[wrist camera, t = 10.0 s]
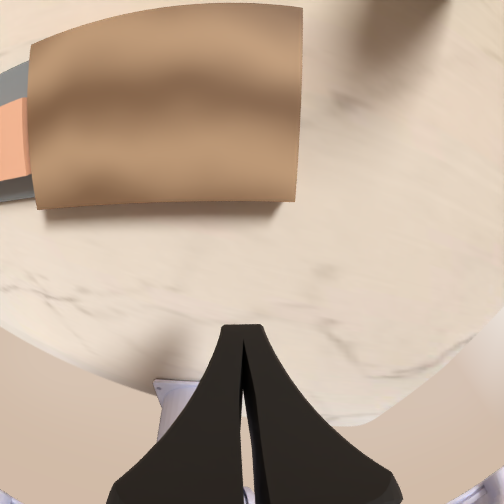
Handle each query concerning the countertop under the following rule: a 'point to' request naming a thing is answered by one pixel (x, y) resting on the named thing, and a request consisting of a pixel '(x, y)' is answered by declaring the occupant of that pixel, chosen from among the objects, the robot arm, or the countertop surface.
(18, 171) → the tile
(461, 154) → the countertop surface
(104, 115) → the board
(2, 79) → the mat
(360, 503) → the robot arm
